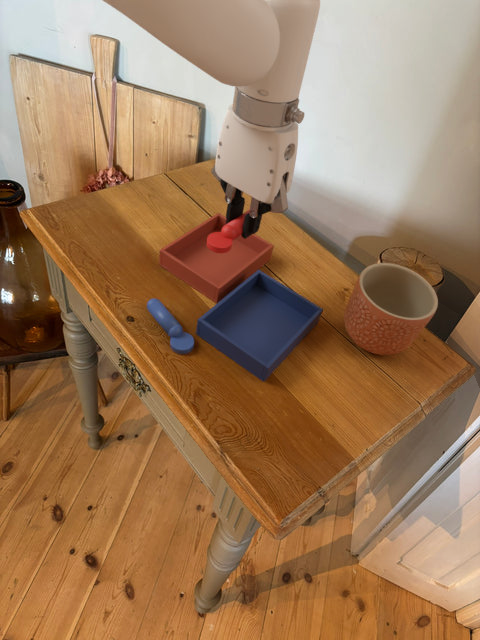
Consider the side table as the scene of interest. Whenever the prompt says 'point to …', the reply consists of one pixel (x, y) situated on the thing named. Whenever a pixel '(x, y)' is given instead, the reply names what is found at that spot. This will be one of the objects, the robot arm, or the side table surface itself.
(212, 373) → the side table surface
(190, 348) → the blue spoon
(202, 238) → the red bin
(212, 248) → the red spoon
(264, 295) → the blue bin
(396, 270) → the planter
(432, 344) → the side table surface
